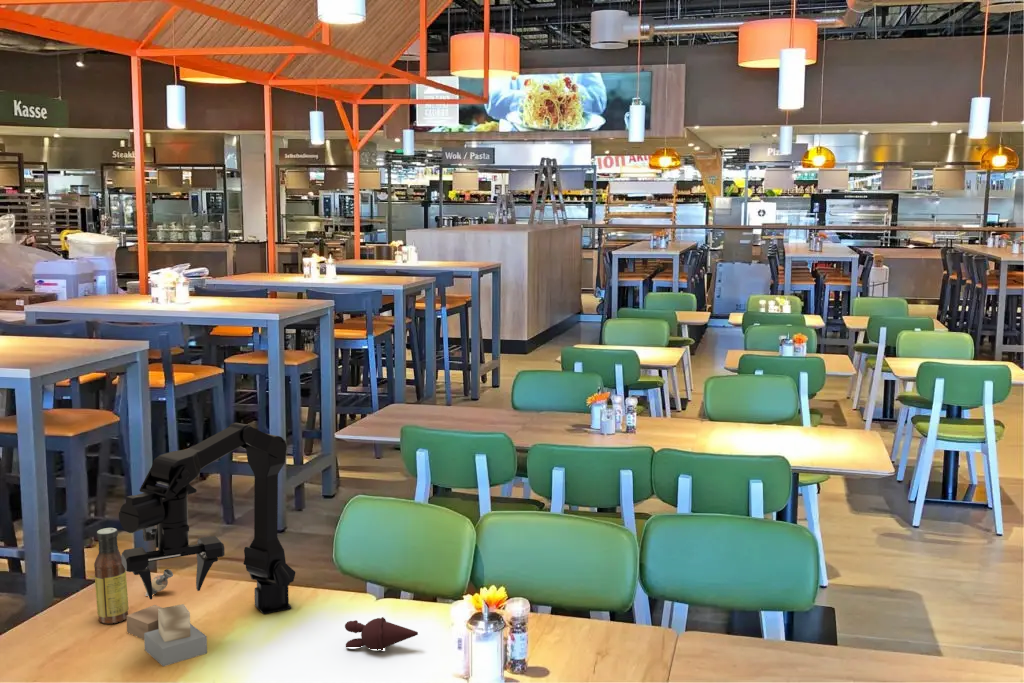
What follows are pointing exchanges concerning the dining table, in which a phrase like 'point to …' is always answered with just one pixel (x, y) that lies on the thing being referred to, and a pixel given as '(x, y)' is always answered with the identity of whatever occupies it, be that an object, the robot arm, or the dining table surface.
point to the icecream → (377, 633)
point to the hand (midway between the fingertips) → (174, 594)
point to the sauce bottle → (110, 579)
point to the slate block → (175, 646)
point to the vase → (160, 581)
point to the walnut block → (143, 621)
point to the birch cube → (174, 622)
